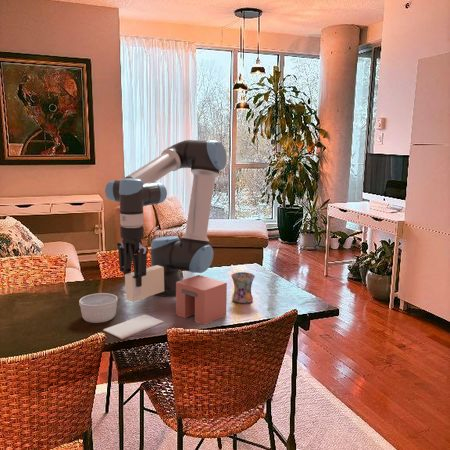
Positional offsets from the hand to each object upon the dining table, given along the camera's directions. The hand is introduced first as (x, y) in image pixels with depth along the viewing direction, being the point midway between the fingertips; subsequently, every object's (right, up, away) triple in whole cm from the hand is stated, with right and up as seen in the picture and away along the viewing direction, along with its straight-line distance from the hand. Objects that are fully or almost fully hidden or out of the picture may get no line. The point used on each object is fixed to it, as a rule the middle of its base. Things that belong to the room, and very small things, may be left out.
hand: (133, 293), depth 152 cm
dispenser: (+22, -10, +13) cm, 28 cm away
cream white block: (+4, -1, +5) cm, 6 cm away
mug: (+38, -7, +30) cm, 49 cm away
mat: (0, -11, +2) cm, 12 cm away
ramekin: (-14, -10, +10) cm, 20 cm away
